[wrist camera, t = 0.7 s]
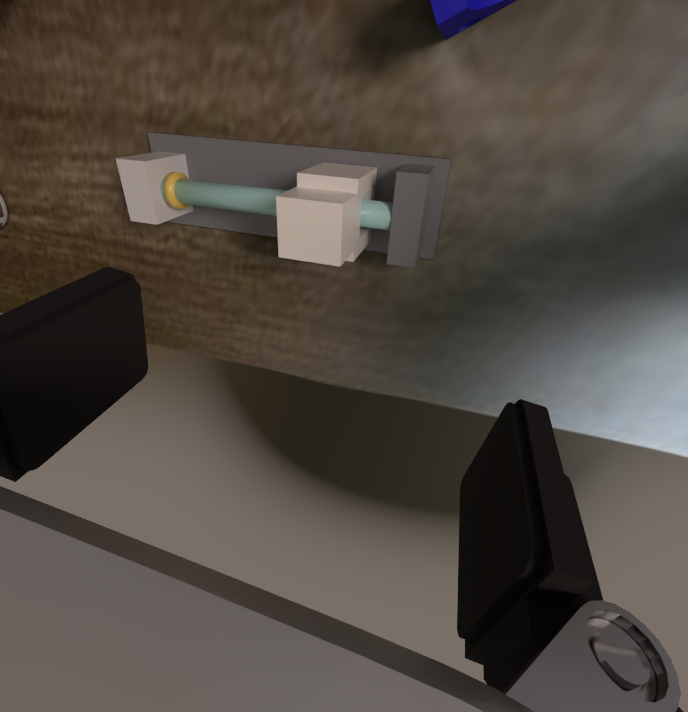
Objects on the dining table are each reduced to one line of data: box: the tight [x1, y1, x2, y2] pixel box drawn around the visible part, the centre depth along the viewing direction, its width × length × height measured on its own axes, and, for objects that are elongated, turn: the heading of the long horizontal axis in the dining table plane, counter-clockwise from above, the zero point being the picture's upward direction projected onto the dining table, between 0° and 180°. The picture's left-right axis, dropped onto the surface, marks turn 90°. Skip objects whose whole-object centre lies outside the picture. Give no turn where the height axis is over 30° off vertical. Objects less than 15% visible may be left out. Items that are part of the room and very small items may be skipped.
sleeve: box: [276, 162, 377, 267], centre depth 27 cm, size 4×5×8 cm
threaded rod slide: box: [116, 132, 452, 268], centre depth 30 cm, size 24×7×5 cm, turn 87°
